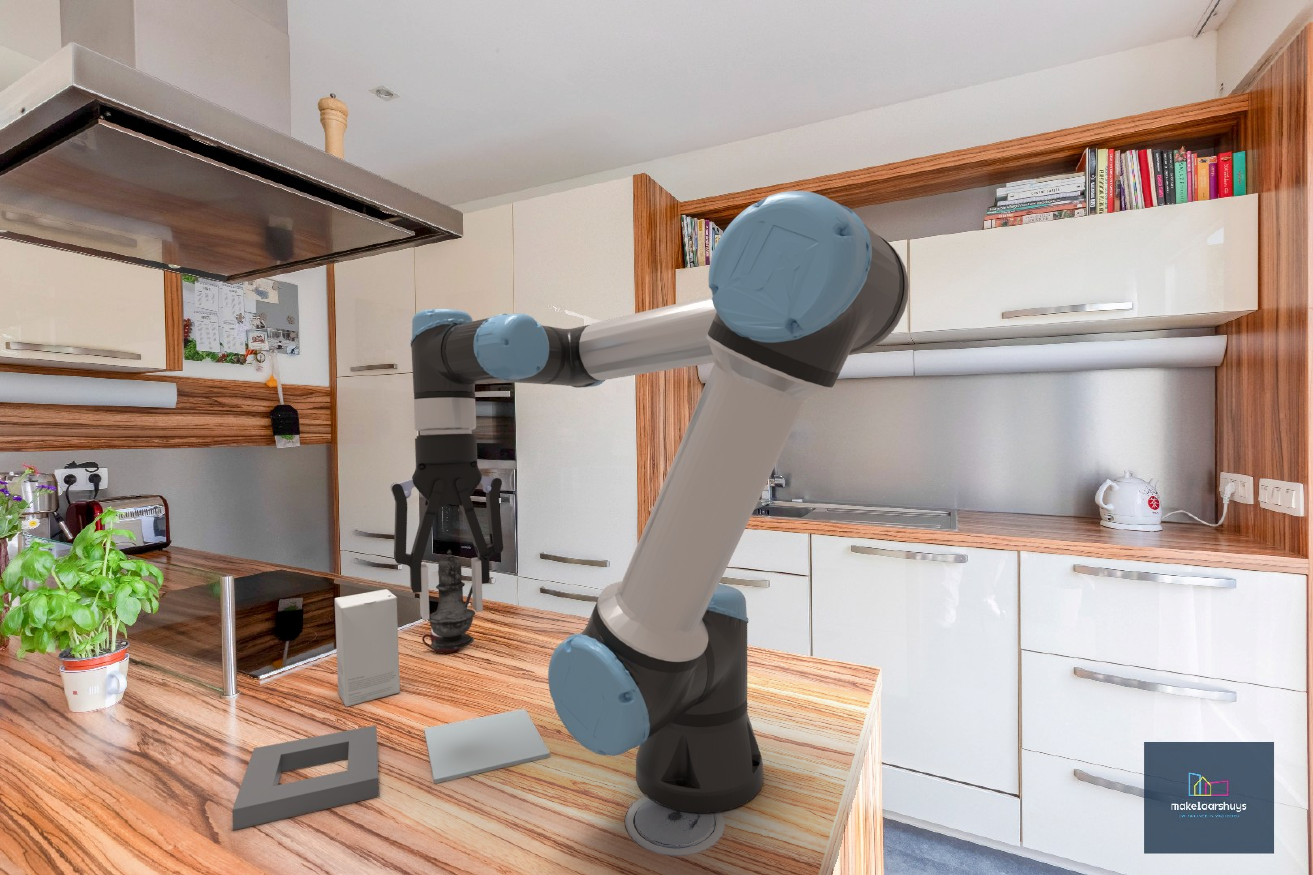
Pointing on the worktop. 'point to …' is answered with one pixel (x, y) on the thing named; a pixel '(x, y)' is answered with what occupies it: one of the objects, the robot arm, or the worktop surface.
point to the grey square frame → (276, 802)
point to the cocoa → (435, 636)
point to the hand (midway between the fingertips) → (451, 612)
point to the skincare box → (367, 646)
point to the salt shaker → (451, 608)
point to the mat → (483, 745)
